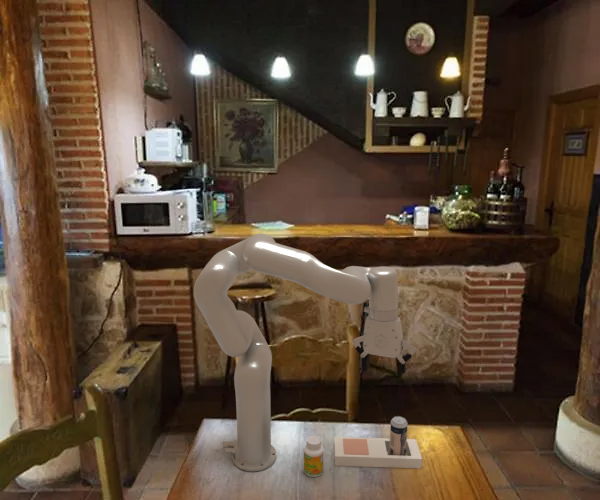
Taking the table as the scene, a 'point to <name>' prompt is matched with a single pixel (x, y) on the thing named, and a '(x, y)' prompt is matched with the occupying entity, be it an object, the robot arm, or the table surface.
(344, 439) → the well board
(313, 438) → the supplement bottle
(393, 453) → the beer can
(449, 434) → the table surface
